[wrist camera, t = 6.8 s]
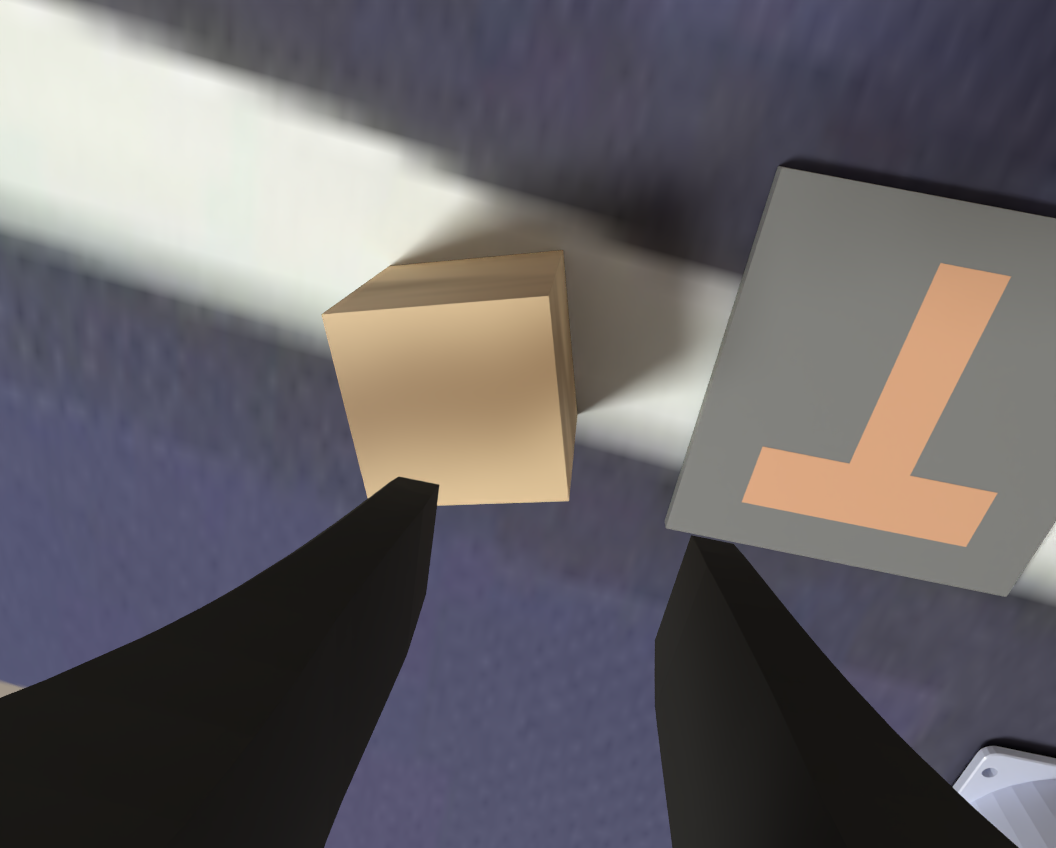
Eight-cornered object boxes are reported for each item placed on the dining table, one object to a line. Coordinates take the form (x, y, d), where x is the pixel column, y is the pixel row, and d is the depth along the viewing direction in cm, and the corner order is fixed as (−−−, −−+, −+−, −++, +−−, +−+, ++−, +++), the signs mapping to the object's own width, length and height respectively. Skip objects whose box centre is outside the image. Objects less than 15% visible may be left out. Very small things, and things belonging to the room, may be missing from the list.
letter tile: (999, 588, 21) (1006, 596, 21) (664, 521, 21) (665, 528, 21) (1217, 248, 16) (1231, 251, 16) (778, 165, 16) (782, 166, 16)
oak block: (577, 413, 20) (568, 501, 16) (421, 422, 21) (370, 508, 16) (563, 249, 18) (548, 296, 13) (390, 265, 19) (321, 314, 14)
